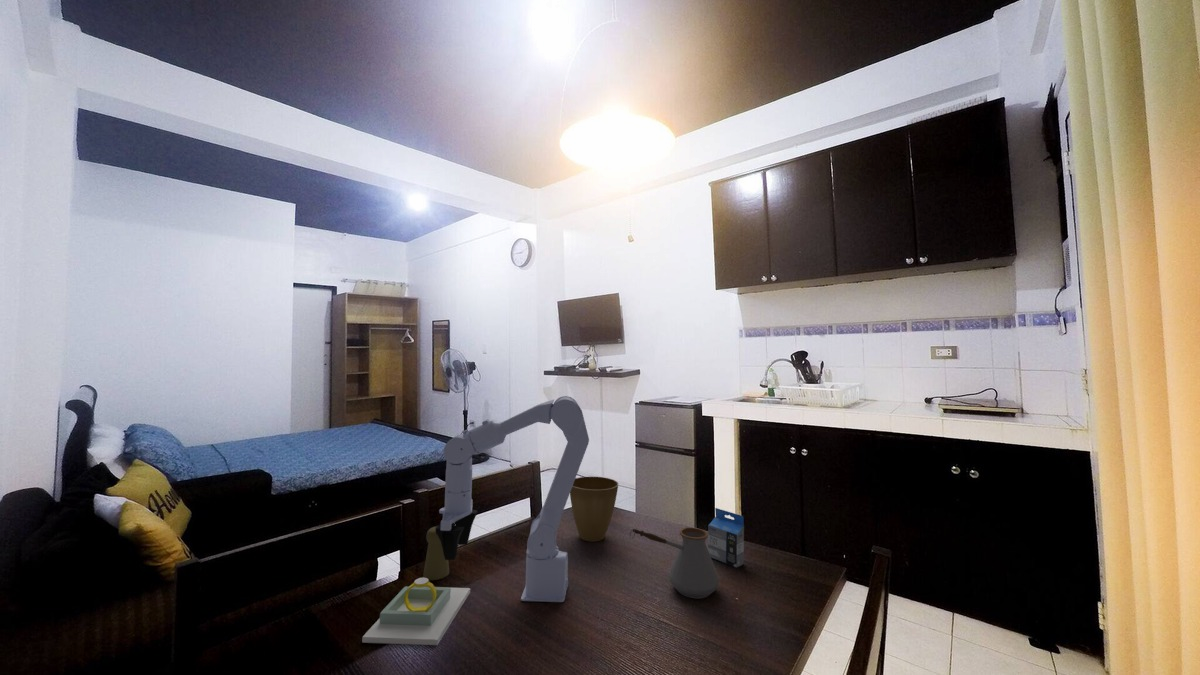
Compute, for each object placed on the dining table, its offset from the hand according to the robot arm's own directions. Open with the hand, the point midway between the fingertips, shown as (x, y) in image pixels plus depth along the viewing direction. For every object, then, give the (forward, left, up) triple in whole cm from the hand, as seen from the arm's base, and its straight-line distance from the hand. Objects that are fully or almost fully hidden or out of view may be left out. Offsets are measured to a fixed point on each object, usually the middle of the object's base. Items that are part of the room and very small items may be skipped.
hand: (456, 551), depth 97 cm
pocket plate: (+4, +8, -9) cm, 13 cm away
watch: (+4, +8, -9) cm, 13 cm away
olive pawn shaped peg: (+8, -9, -10) cm, 15 cm away
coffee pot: (-49, -4, -10) cm, 50 cm away
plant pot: (-29, -34, -10) cm, 46 cm away
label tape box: (-65, -21, -10) cm, 69 cm away
